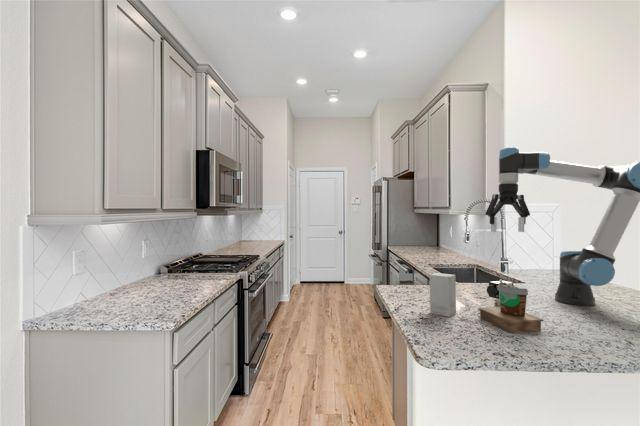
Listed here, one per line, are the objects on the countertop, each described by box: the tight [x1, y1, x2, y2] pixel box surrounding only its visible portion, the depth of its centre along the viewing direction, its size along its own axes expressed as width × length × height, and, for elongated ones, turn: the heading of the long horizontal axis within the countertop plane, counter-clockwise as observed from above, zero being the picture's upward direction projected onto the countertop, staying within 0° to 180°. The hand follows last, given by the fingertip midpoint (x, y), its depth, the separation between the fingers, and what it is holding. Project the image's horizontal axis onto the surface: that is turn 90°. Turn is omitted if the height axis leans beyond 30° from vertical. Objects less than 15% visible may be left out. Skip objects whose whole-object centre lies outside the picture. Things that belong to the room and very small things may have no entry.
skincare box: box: [429, 272, 457, 318], centre depth 144 cm, size 8×7×16 cm
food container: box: [497, 282, 529, 317], centre depth 132 cm, size 12×6×10 cm, turn 8°
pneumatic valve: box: [486, 279, 515, 307], centre depth 154 cm, size 6×12×12 cm, turn 114°
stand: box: [478, 306, 544, 333], centre depth 131 cm, size 13×17×4 cm
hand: (507, 232), depth 160 cm, fingers open, 13 cm apart
